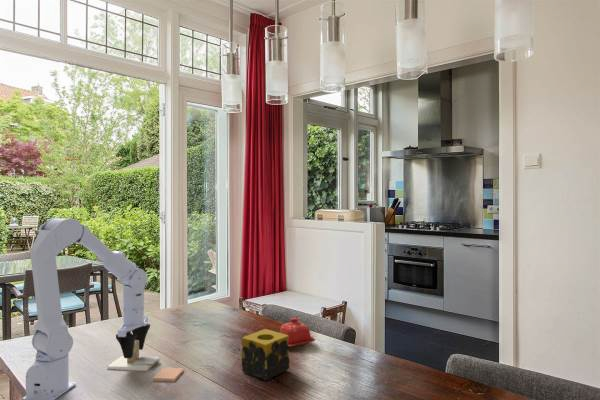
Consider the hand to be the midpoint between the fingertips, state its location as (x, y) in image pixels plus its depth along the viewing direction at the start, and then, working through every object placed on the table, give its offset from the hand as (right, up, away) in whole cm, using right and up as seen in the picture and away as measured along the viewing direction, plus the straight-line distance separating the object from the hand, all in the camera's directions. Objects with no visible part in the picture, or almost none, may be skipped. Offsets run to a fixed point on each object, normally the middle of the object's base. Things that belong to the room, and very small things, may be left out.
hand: (133, 353), depth 123 cm
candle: (+40, -4, -4) cm, 40 cm away
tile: (+10, -3, -8) cm, 13 cm away
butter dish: (+48, -4, +20) cm, 52 cm away
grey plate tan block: (+3, -2, 0) cm, 4 cm away
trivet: (0, -3, 0) cm, 3 cm away
